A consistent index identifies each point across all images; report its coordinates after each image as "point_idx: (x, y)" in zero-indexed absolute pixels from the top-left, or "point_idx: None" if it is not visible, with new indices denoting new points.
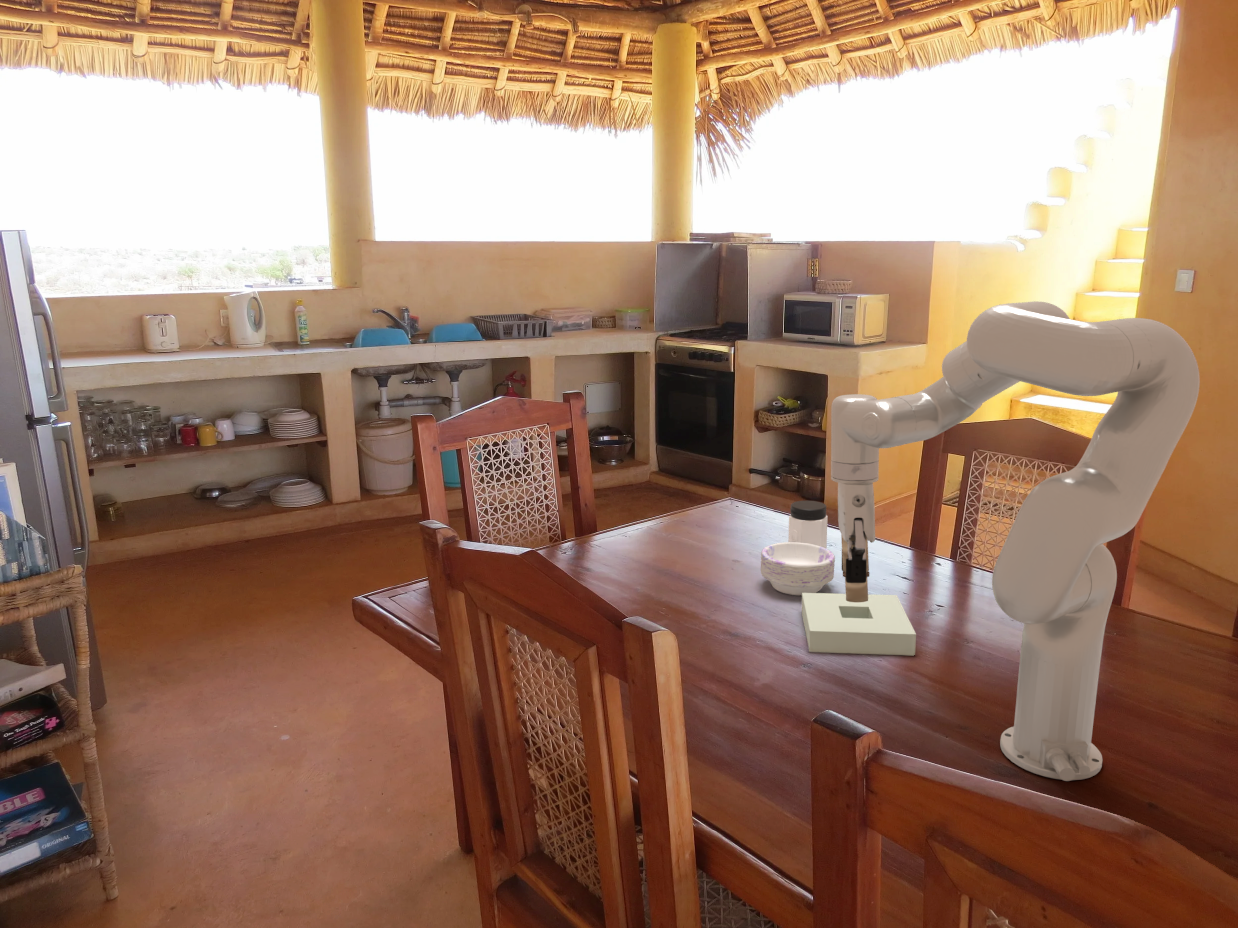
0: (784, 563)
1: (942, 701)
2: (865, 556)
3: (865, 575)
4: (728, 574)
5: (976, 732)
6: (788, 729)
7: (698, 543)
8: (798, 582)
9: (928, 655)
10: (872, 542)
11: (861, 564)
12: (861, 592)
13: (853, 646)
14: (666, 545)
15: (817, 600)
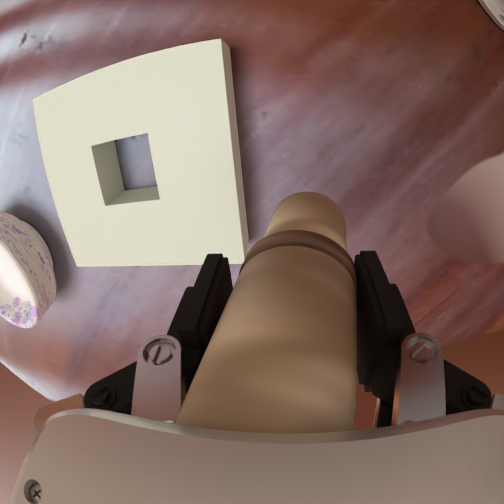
0: (35, 307)
1: (414, 44)
2: (442, 354)
3: (382, 269)
4: (41, 323)
5: (483, 40)
6: (468, 273)
7: (4, 336)
8: (46, 269)
9: (224, 23)
10: (500, 410)
11: (414, 331)
12: (344, 235)
13: (239, 167)
14: (25, 360)
15: (96, 243)
